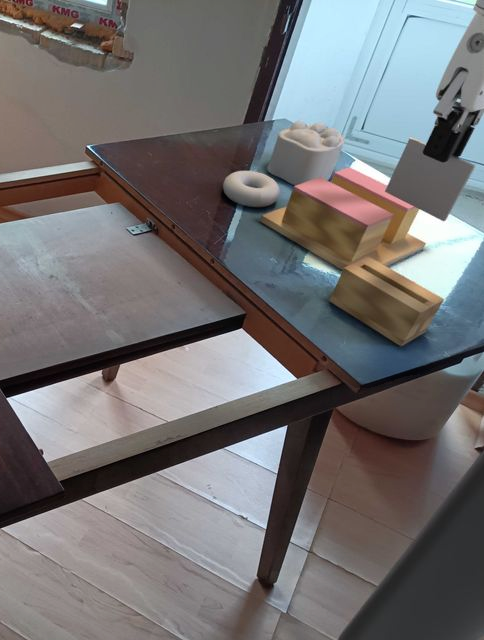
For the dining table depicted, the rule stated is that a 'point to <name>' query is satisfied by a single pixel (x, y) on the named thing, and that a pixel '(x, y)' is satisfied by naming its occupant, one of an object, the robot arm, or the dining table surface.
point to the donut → (251, 188)
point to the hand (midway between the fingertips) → (441, 154)
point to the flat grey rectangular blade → (430, 177)
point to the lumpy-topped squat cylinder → (305, 152)
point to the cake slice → (378, 201)
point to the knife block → (385, 300)
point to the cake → (338, 225)
